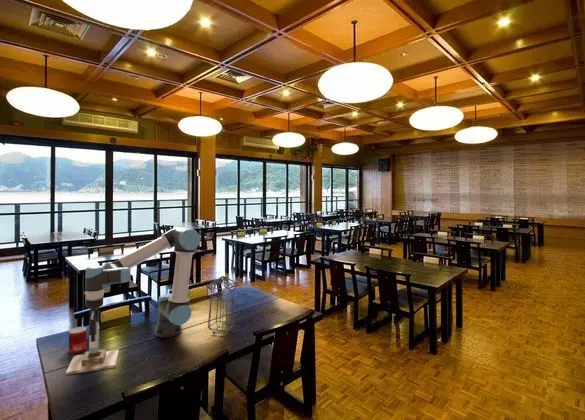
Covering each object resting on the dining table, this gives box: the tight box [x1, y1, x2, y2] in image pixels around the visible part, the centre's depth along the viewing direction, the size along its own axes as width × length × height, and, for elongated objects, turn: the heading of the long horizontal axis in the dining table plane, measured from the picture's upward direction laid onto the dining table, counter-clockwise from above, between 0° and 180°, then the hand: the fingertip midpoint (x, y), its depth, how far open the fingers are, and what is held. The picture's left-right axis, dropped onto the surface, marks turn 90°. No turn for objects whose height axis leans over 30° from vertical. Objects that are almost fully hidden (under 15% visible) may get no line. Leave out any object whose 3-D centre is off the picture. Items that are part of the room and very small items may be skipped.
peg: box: [88, 321, 100, 354], centre depth 161 cm, size 4×4×14 cm
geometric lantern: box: [205, 275, 239, 336], centre depth 199 cm, size 16×16×35 cm
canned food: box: [68, 326, 88, 354], centre depth 173 cm, size 8×8×11 cm
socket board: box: [65, 348, 120, 375], centre depth 162 cm, size 20×16×4 cm
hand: (94, 345), depth 161 cm, fingers closed on peg, 4 cm apart
